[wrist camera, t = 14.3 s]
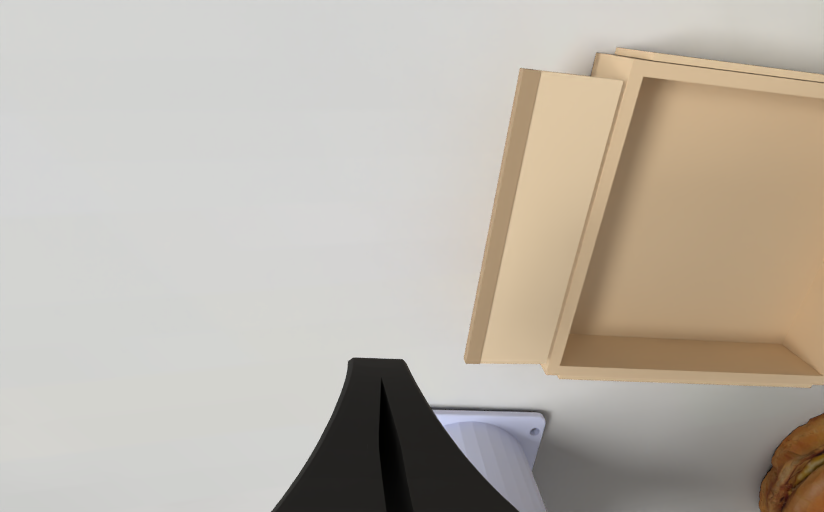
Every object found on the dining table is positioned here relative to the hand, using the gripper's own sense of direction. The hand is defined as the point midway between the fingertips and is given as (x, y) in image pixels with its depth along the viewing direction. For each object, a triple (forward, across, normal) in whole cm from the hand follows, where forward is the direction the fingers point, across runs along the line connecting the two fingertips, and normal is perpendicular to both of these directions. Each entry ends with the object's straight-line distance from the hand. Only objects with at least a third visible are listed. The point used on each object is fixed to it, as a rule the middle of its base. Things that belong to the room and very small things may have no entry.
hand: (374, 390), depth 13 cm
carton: (+10, -15, -1) cm, 18 cm away
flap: (+7, -8, -1) cm, 11 cm away
